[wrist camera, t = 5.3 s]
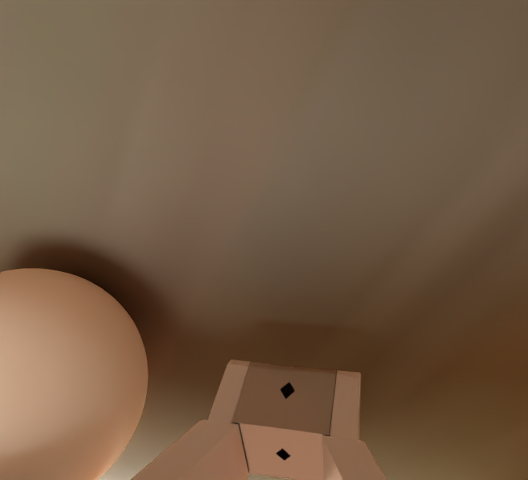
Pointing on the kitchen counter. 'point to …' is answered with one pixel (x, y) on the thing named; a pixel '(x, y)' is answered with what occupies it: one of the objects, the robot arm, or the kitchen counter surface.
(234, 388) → the robot arm
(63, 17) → the kitchen counter surface
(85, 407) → the cue ball
